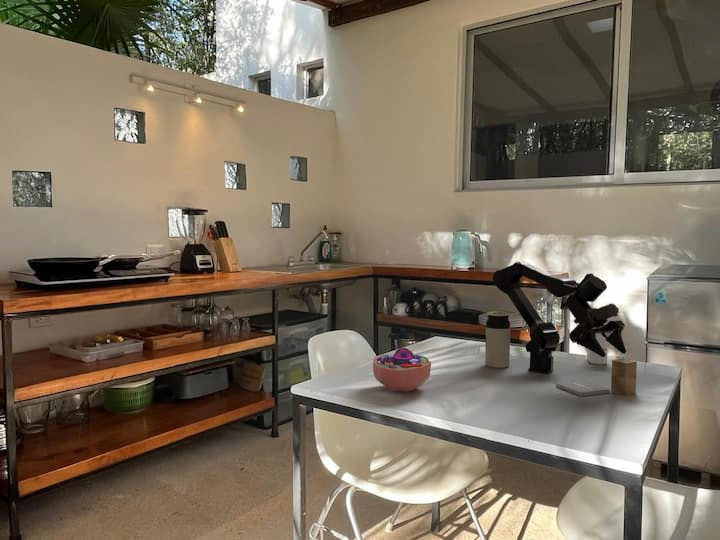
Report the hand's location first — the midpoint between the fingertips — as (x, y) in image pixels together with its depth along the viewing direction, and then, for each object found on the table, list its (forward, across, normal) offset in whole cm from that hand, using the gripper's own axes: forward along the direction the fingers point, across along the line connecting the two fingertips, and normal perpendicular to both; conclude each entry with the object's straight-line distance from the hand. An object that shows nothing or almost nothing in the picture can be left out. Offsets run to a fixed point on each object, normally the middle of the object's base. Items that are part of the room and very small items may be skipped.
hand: (615, 354), depth 156 cm
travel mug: (-20, -8, +34) cm, 41 cm away
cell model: (-15, -52, +29) cm, 62 cm away
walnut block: (+9, 0, +5) cm, 11 cm away
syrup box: (-11, +27, +25) cm, 38 cm away
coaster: (+4, -8, +10) cm, 14 cm away
